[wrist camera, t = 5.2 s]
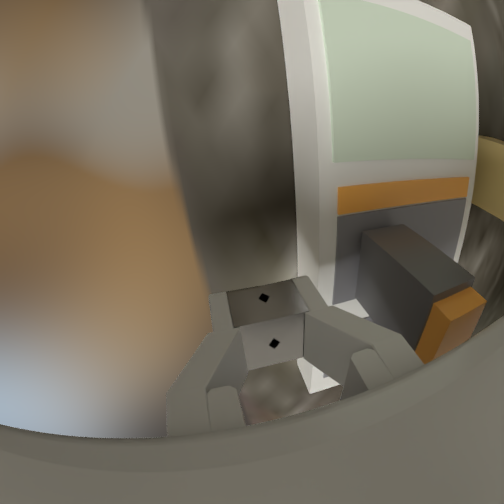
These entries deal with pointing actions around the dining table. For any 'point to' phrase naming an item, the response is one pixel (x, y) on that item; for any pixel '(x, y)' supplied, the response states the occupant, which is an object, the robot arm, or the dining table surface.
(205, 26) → the dining table surface
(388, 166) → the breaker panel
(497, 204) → the tan block with knob
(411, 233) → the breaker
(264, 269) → the dining table surface
